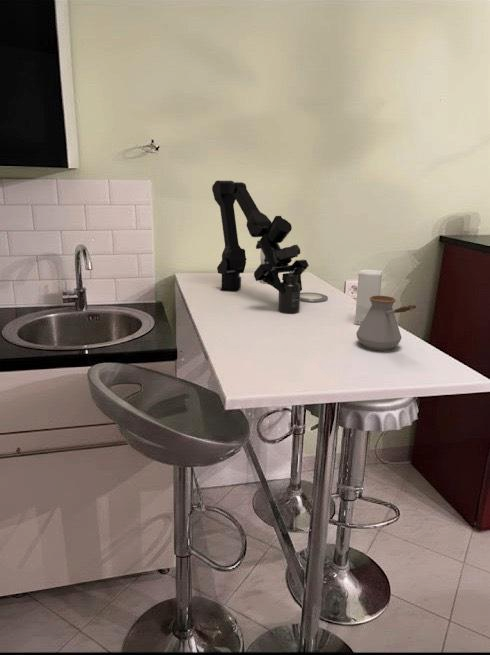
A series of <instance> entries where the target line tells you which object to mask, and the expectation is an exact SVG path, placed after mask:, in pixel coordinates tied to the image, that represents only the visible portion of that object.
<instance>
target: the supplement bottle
mask: <svg viewBox="0 0 490 655" xmlns="http://www.w3.org/2000/svg"><path fill="white" fill-rule="evenodd" d="M281 280H282V281H281V283H282V285H283V287H284V290H285V293H284V294H282V293H281V292H279V291H278V303H277V304H278V309H277V310H278V311H279V312H280V313H283V314H297V313H299V312H300V307H301V306H300V305H301V301H300V293H301V291H300V284H299V283H298V282H297V281H298V274H295V273H289V272H283V274H282V278H281Z"/></svg>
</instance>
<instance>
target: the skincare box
mask: <svg viewBox="0 0 490 655" xmlns="http://www.w3.org/2000/svg"><path fill="white" fill-rule="evenodd" d="M382 278H383V270H381V269H365V268H363V269H361V270H359V273H358V278H357V279H358V280H357V292H356V305H355V306H356V307H355V316H354V317H355V318H354V325H358V326H360V325H361V324H362V322H363V320H364V318H365V316H366V315H367V313H368V311H369V309H370V308H371V306H372V304H371V301H370V297H371V296H381V290H382Z"/></svg>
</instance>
